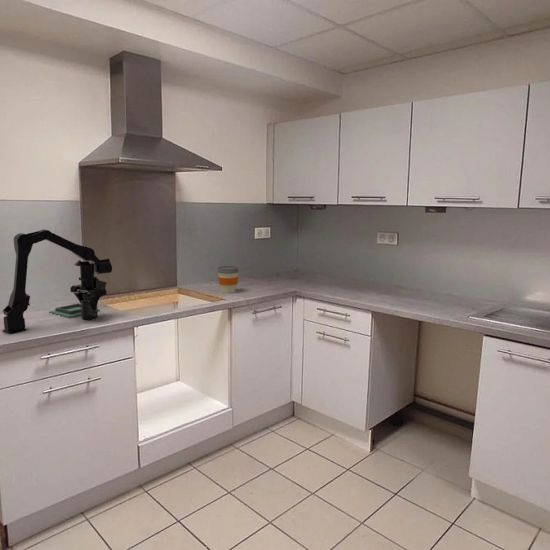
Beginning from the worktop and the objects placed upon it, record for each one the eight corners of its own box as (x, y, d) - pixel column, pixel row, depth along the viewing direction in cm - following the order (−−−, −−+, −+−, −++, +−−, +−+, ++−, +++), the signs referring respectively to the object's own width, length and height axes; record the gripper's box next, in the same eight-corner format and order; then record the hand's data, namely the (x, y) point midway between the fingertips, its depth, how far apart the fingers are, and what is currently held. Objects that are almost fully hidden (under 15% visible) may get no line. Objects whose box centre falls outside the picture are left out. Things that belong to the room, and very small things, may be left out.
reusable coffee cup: (237, 294, 254) (237, 269, 251) (216, 293, 254) (216, 268, 251) (239, 290, 266) (239, 266, 264) (219, 289, 266) (218, 265, 264)
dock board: (69, 318, 195) (68, 313, 195) (49, 313, 204) (48, 308, 203) (99, 311, 209) (99, 306, 208) (79, 306, 217) (79, 302, 217)
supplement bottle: (78, 319, 195) (77, 293, 193) (92, 316, 200) (90, 290, 198) (87, 321, 191) (86, 295, 189) (101, 318, 196) (99, 292, 194)
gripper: (116, 274, 194) (117, 308, 197) (90, 271, 204) (92, 303, 206) (94, 278, 185) (96, 313, 187) (68, 274, 194) (70, 307, 197)
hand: (89, 308), depth 195 cm, fingers closed on supplement bottle, 7 cm apart
